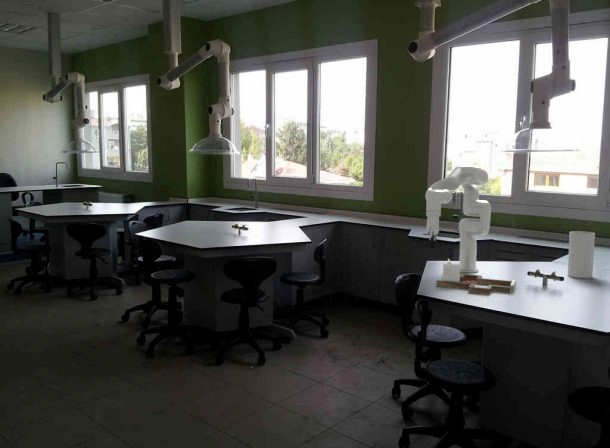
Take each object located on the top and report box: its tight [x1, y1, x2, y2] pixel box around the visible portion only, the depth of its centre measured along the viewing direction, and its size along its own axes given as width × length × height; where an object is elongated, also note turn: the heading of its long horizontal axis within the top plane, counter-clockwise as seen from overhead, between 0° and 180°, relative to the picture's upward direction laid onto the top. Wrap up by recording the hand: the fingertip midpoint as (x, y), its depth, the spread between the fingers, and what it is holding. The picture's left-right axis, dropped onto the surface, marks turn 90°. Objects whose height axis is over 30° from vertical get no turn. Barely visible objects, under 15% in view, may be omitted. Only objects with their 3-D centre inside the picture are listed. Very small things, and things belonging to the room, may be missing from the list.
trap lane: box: [435, 273, 517, 296], centre depth 273 cm, size 31×38×4 cm
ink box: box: [442, 258, 461, 282], centre depth 278 cm, size 9×8×13 cm
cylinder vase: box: [567, 230, 596, 280], centre depth 296 cm, size 12×12×25 cm
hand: (432, 247), depth 281 cm, fingers closed
